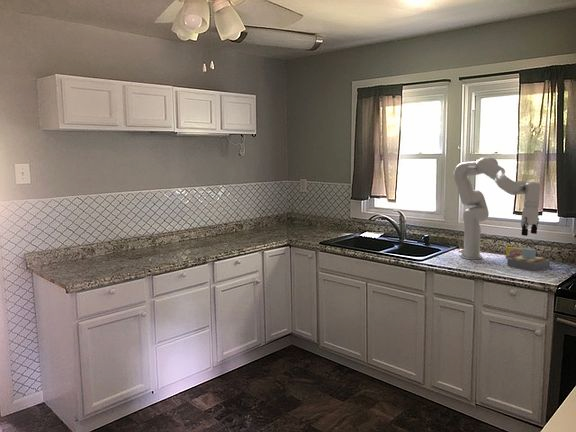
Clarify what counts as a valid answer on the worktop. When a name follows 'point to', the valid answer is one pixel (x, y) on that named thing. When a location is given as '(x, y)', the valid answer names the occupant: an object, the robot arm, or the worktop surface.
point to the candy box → (513, 252)
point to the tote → (528, 264)
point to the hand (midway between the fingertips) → (529, 234)
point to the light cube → (528, 253)
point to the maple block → (534, 260)
